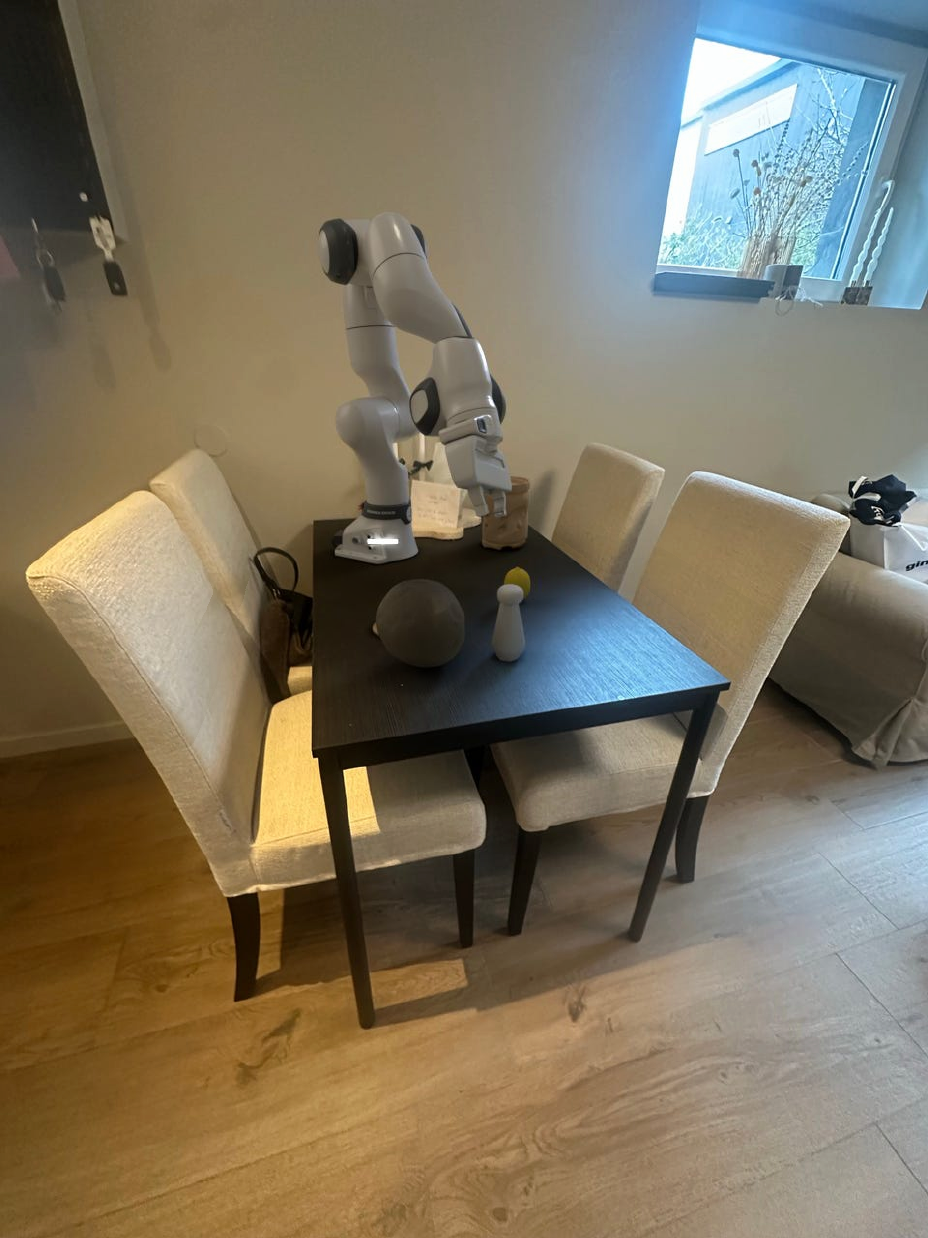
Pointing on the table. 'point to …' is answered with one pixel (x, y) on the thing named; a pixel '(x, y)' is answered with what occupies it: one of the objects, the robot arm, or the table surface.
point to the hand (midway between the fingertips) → (492, 517)
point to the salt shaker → (508, 624)
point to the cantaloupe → (421, 623)
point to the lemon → (518, 580)
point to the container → (508, 517)
